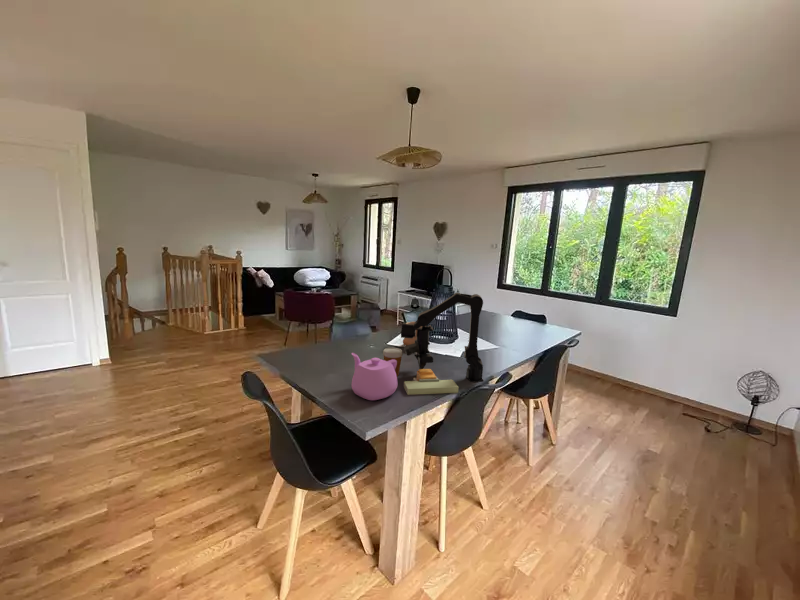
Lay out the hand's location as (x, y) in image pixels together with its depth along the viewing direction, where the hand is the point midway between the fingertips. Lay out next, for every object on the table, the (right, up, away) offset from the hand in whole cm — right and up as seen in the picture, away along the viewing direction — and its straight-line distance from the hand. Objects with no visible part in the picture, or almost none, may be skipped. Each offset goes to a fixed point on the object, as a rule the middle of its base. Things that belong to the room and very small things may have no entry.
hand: (420, 370), depth 172 cm
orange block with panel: (+2, -3, -9) cm, 10 cm away
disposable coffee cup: (-14, -2, -2) cm, 14 cm away
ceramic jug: (-1, +5, +43) cm, 43 cm away
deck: (+3, -4, -14) cm, 15 cm away
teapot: (-21, -5, -22) cm, 31 cm away
